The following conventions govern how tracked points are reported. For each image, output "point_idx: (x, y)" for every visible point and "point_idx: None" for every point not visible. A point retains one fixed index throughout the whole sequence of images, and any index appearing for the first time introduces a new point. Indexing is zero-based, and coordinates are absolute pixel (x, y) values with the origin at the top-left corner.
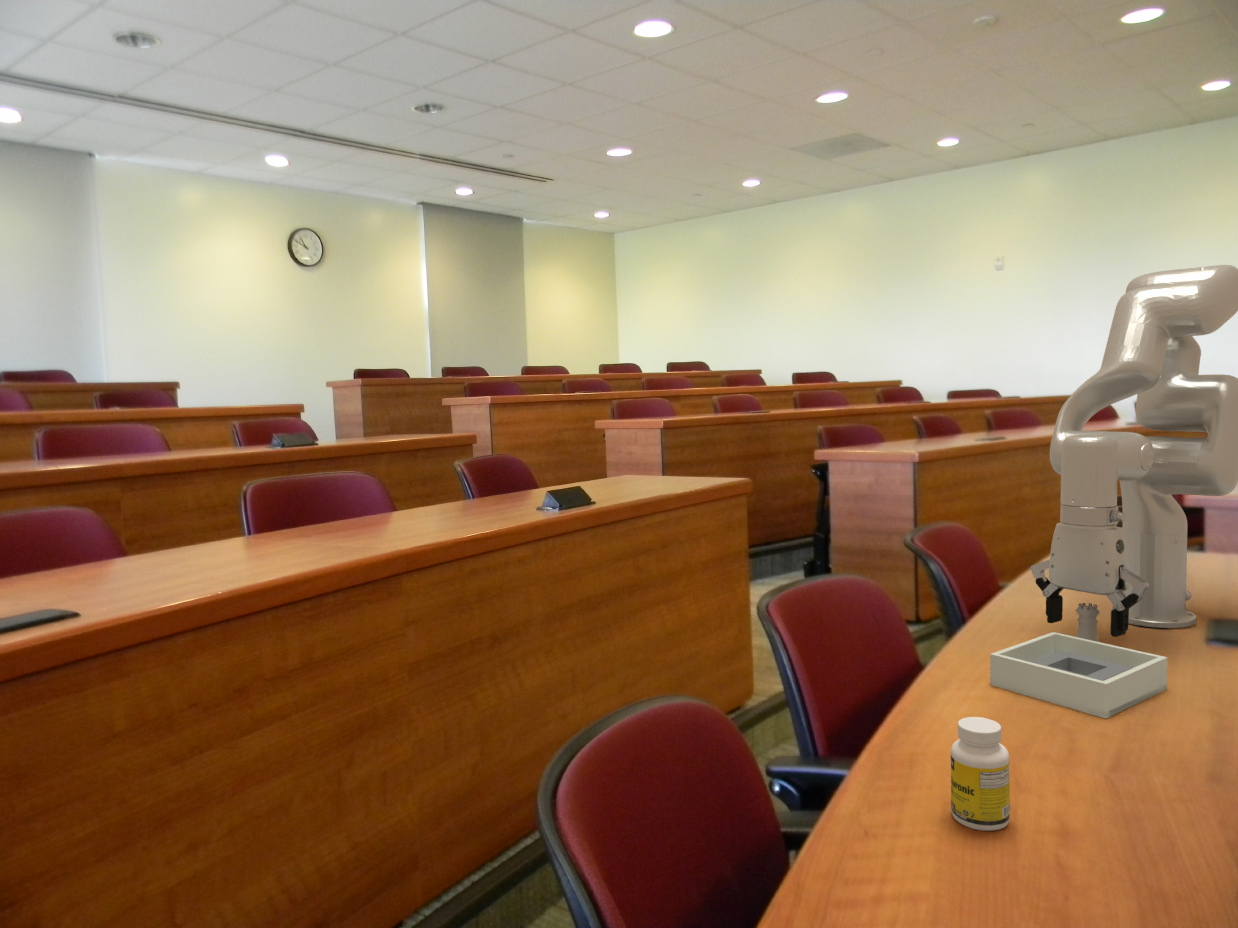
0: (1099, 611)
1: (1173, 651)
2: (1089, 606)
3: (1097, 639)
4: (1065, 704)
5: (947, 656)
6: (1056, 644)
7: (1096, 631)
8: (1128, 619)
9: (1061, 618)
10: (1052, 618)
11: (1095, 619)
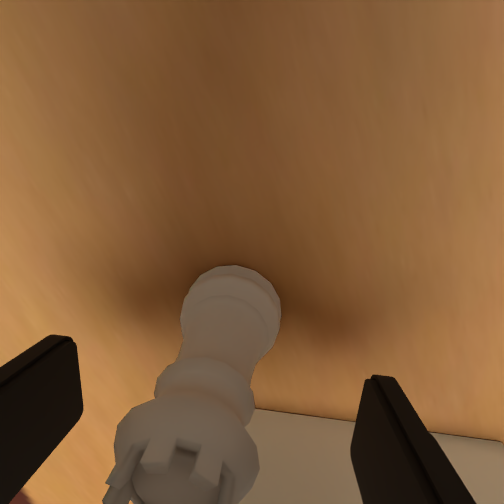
0: (246, 432)
1: (462, 23)
2: (177, 479)
3: (261, 343)
4: None
5: (27, 490)
6: None
7: (253, 363)
8: (466, 489)
9: (69, 351)
10: (67, 428)
11: (243, 418)
